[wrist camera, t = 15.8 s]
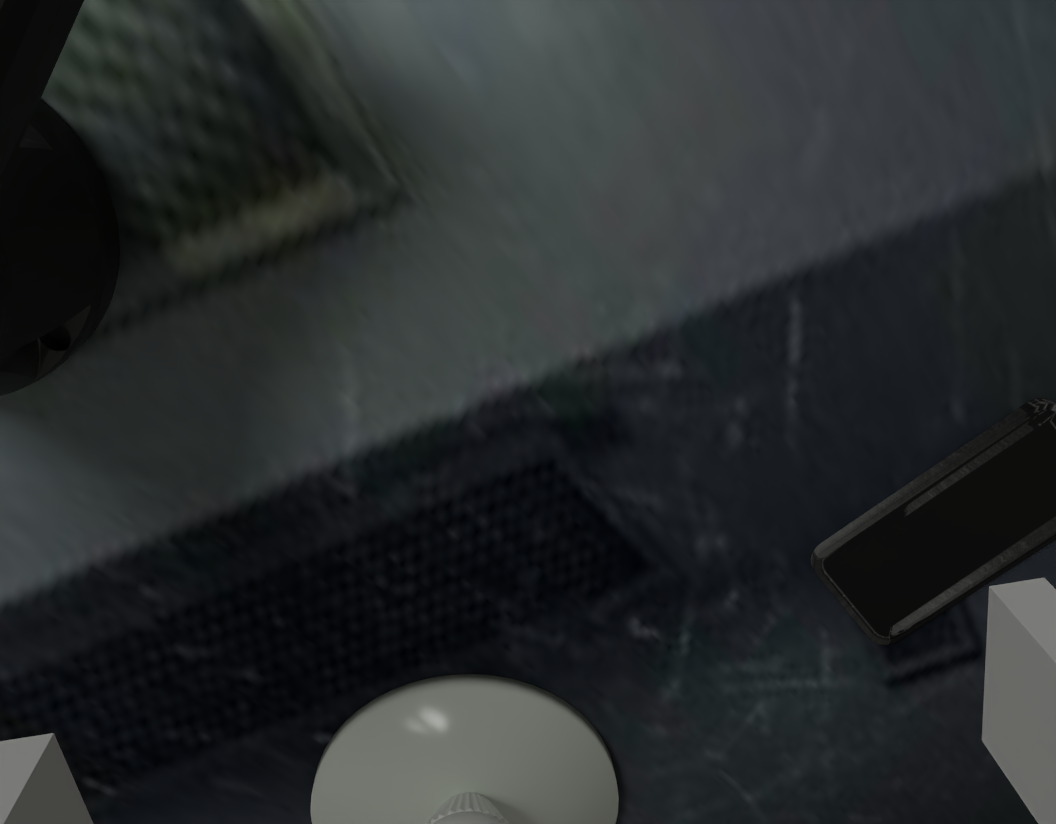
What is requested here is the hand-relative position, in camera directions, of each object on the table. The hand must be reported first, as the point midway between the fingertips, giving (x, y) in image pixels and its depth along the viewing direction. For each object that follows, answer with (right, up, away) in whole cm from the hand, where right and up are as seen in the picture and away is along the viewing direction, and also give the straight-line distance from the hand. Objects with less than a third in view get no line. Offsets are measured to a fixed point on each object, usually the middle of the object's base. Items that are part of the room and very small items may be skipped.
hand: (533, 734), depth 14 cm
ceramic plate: (-4, -18, +45) cm, 49 cm away
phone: (+23, -1, +40) cm, 46 cm away
